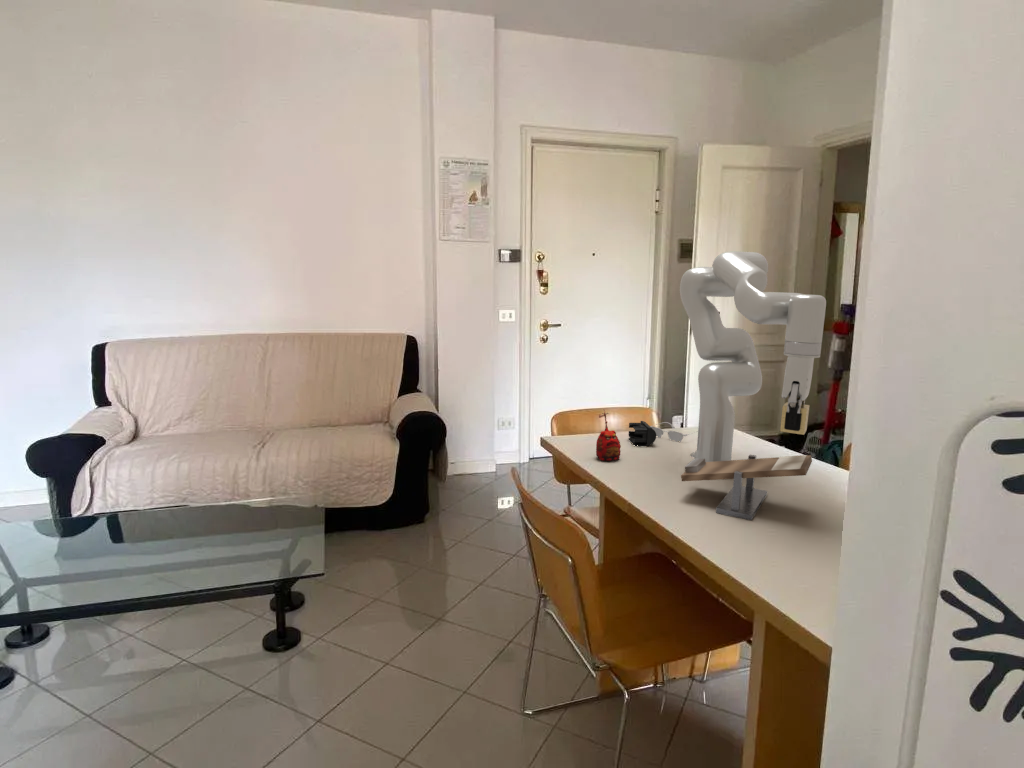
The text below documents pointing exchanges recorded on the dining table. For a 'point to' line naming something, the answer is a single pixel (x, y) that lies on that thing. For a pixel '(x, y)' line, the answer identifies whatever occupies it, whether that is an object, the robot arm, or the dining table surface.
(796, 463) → the balance beam
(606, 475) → the dining table surface
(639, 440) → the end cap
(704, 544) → the dining table surface
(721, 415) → the robot arm
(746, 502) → the beam stand
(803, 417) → the tan wooden cube
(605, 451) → the red clay folk toy
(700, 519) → the dining table surface
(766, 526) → the dining table surface
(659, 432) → the eyeglasses
